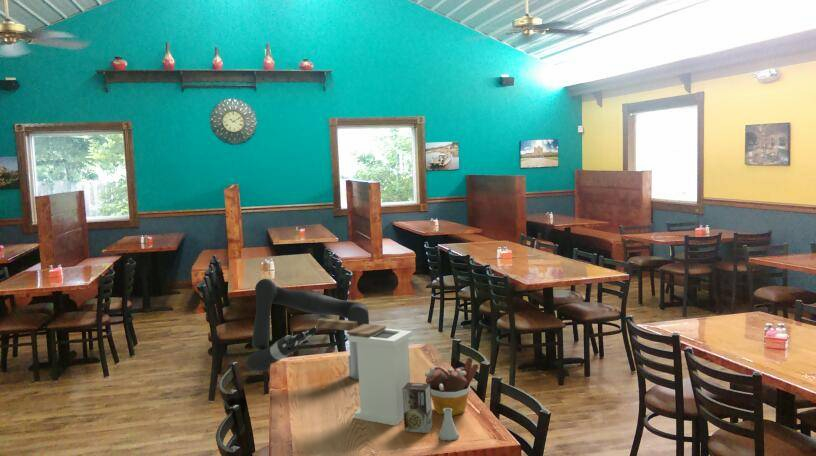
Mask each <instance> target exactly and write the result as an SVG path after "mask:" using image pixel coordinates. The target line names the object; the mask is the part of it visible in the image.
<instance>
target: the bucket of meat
mask: <svg viewBox="0 0 816 456" xmlns="http://www.w3.org/2000/svg"><path fill="white" fill-rule="evenodd" d="M478 368H479V365H478V364H477V363H474V364H473V358H472V357H471V356H470V357H468V358H467V360H466V361H465V363H464V366H461V367H457V368H454V369H452V368H449V369H448V370H447V369H445V368H444V367H442V366H438V365H435V366H433V365H432V366H430V367H429V371H426V372H425V373H424V377H425V384H430V386H431V403H432V404H433V408H434V411H436V412H437V413H438V415H442V416H444V412H443V409H445V408H451V409H452V417H454V416H458V415H462V414H463V412H464V411H465V409H466V407H467V403H468V398H469V392H470V387H471V382H472V380H473V379H474V378H475V377H474V376H475V375H476V373H477V371H478Z"/></svg>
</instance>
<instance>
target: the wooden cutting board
mask: <svg viewBox="0 0 816 456" xmlns="http://www.w3.org/2000/svg"><path fill="white" fill-rule="evenodd" d="M316 323H317V328H320V329H330V330H331V329H332V330H341V331H346V334H347V335H348V336H349V335H358V336H367V337H370V336H372V335H374V334H376V333H378V332H380V331H382V330H384V329H387V327H386V325H381V324H379V325H378V324H370V323H369V324H362V325H360V326H358V322H356V321H348V320H346V319H345V320H344V319H335V318H327V317H325V318H323V317H321V318H318V319H317V320H316Z"/></svg>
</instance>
